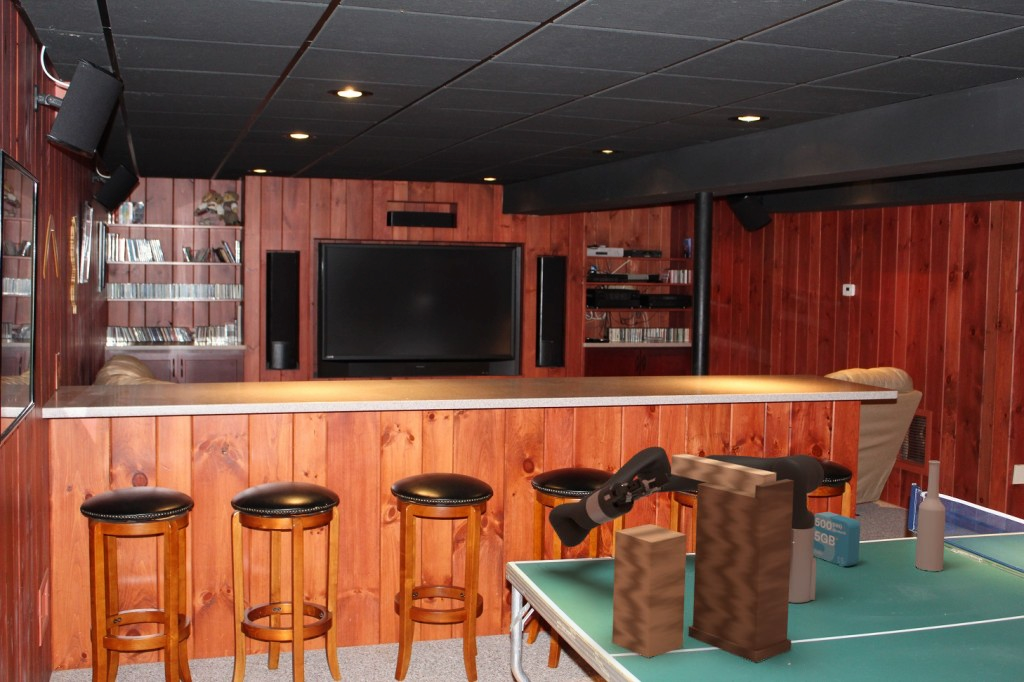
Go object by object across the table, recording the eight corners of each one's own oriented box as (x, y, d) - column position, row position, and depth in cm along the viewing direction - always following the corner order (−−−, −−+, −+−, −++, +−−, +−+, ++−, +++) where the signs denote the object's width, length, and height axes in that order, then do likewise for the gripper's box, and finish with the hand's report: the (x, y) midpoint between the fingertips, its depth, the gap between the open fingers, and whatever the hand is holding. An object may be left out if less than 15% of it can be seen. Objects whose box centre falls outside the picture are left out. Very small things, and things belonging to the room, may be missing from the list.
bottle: (912, 568, 254) (918, 461, 251) (918, 562, 259) (924, 457, 257) (939, 573, 250) (945, 465, 248) (945, 567, 255) (951, 461, 253)
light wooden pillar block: (612, 642, 200) (615, 531, 198) (646, 631, 206) (649, 523, 204) (648, 658, 192) (651, 542, 190) (682, 646, 198) (686, 534, 196)
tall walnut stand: (688, 635, 204) (693, 471, 201) (723, 624, 211) (729, 465, 208) (755, 663, 191) (762, 487, 188) (790, 649, 198) (798, 480, 195)
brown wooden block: (671, 473, 211) (671, 455, 211) (683, 471, 214) (684, 453, 213) (763, 495, 192) (763, 475, 192) (775, 492, 195) (776, 473, 195)
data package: (810, 556, 263) (812, 512, 262) (822, 554, 265) (824, 510, 264) (847, 568, 253) (849, 522, 252) (858, 566, 255) (861, 520, 254)
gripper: (581, 492, 226) (626, 467, 214) (625, 484, 235) (671, 460, 223) (592, 523, 223) (638, 500, 212) (636, 514, 232) (682, 491, 221)
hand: (655, 479), depth 218 cm, fingers open, 8 cm apart
